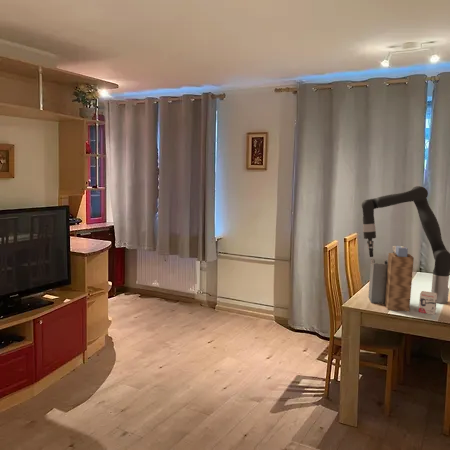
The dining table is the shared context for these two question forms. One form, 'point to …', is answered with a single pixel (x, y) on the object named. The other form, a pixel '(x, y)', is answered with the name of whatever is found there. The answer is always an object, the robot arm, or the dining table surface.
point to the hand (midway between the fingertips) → (371, 256)
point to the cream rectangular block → (400, 251)
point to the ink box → (427, 302)
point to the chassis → (378, 282)
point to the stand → (399, 282)
